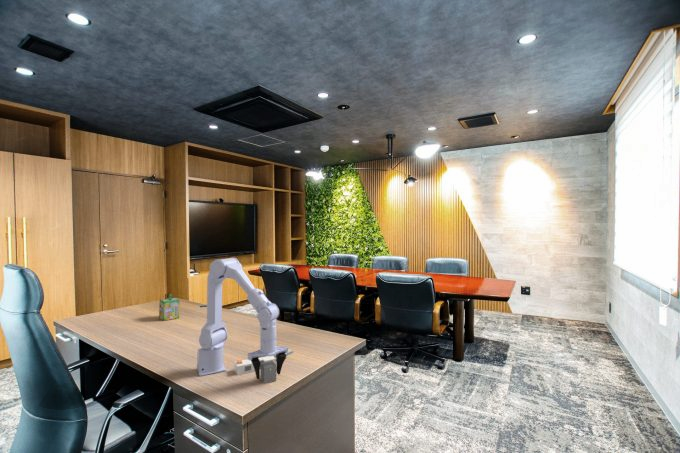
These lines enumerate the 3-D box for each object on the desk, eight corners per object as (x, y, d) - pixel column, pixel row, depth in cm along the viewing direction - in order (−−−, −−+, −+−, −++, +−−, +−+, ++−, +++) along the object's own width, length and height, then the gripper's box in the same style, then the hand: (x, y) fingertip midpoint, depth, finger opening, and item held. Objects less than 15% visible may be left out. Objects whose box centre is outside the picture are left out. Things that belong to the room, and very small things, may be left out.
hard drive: (293, 350, 146) (273, 344, 153) (280, 356, 139) (260, 349, 146) (293, 354, 146) (273, 348, 153) (280, 360, 139) (260, 353, 146)
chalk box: (158, 318, 202) (158, 294, 202) (174, 315, 208) (175, 292, 208) (163, 321, 195) (163, 296, 195) (179, 318, 201) (179, 294, 201)
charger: (264, 383, 116) (264, 367, 116) (259, 375, 122) (259, 361, 122) (276, 380, 118) (276, 365, 118) (270, 373, 124) (270, 358, 124)
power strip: (237, 375, 123) (237, 364, 123) (234, 370, 128) (234, 360, 128) (285, 364, 133) (285, 355, 133) (281, 360, 137) (281, 351, 137)
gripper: (251, 345, 113) (251, 384, 112) (291, 338, 120) (291, 375, 120) (246, 339, 119) (246, 376, 119) (284, 333, 126) (284, 368, 126)
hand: (268, 375), depth 120 cm, fingers open, 7 cm apart
